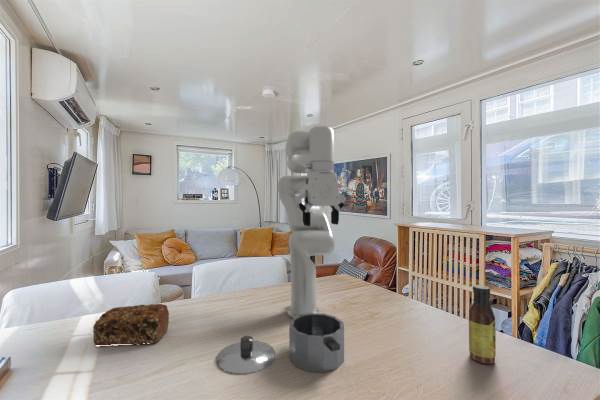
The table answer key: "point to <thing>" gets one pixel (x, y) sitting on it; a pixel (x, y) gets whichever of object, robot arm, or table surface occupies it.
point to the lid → (246, 356)
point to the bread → (132, 325)
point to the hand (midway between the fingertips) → (321, 224)
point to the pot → (316, 342)
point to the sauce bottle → (482, 327)
